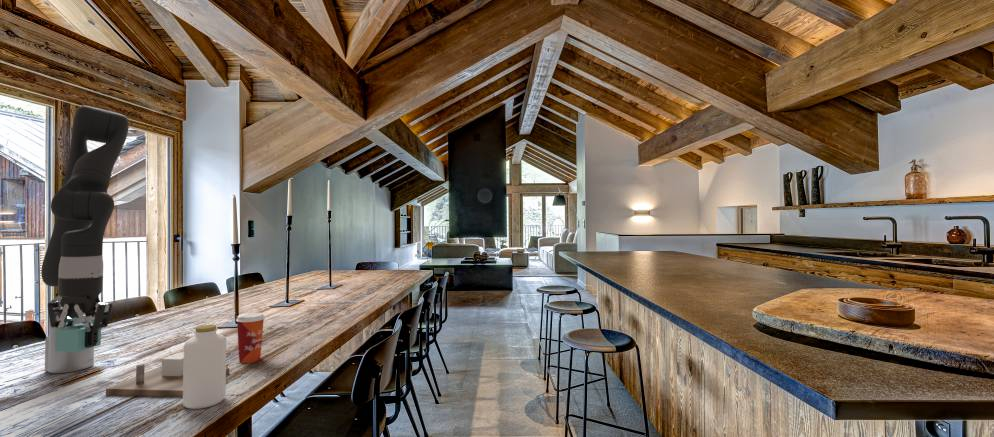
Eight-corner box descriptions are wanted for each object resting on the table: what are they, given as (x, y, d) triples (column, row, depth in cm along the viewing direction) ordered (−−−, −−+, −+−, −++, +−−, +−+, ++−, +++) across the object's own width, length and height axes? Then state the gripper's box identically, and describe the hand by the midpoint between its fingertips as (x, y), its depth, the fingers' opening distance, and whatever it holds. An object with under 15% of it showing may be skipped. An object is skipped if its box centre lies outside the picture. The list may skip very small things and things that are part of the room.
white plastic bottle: (197, 395, 102) (198, 322, 102) (232, 395, 103) (234, 322, 103) (173, 411, 94) (175, 331, 94) (212, 410, 95) (214, 331, 95)
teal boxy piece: (55, 350, 96) (55, 329, 96) (79, 344, 102) (80, 323, 102) (77, 352, 96) (78, 330, 96) (100, 345, 102) (101, 324, 102)
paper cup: (250, 365, 124) (251, 318, 124) (228, 363, 126) (229, 316, 126) (270, 357, 132) (270, 312, 132) (249, 355, 133) (250, 311, 133)
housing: (161, 375, 111) (161, 358, 111) (177, 368, 116) (178, 352, 116) (179, 376, 111) (180, 359, 111) (195, 369, 116) (195, 353, 116)
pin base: (105, 394, 102) (106, 370, 102) (160, 371, 118) (160, 350, 118) (185, 396, 102) (185, 372, 102) (229, 373, 118) (229, 351, 118)
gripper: (34, 275, 96) (31, 349, 96) (94, 278, 95) (91, 352, 95) (69, 271, 103) (66, 340, 103) (125, 274, 103) (122, 342, 102)
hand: (78, 345), depth 99 cm, fingers closed on teal boxy piece, 5 cm apart
